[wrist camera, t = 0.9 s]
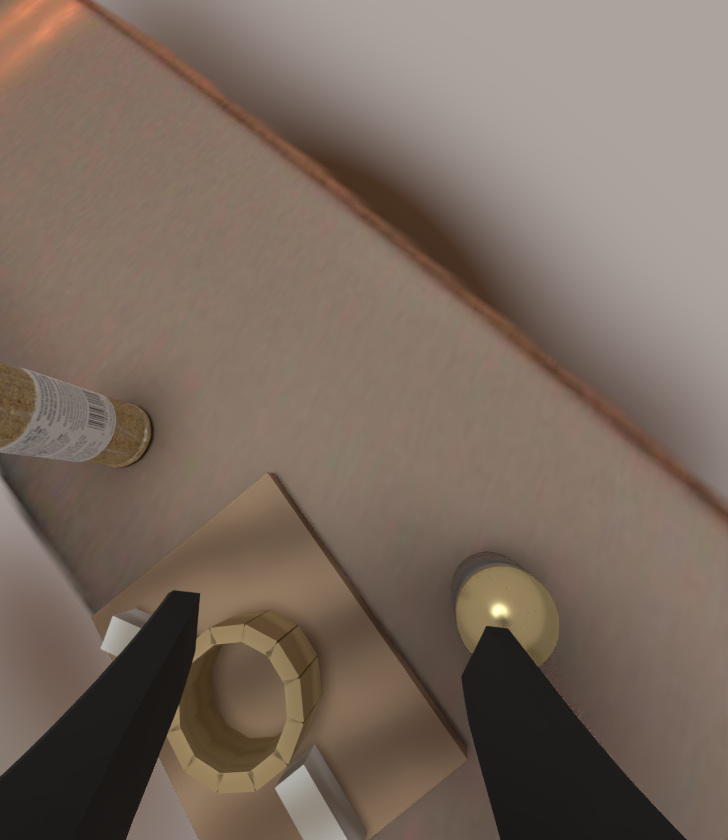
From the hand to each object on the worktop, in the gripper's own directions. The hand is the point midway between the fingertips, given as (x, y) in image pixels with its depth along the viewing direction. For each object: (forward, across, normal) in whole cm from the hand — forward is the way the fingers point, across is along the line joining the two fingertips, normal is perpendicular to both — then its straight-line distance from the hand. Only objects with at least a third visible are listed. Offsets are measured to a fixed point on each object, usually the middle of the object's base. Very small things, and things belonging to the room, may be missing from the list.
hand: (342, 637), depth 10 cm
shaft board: (+8, +2, +14) cm, 17 cm away
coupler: (+9, -10, +7) cm, 15 cm away
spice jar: (+19, +14, +7) cm, 25 cm away
